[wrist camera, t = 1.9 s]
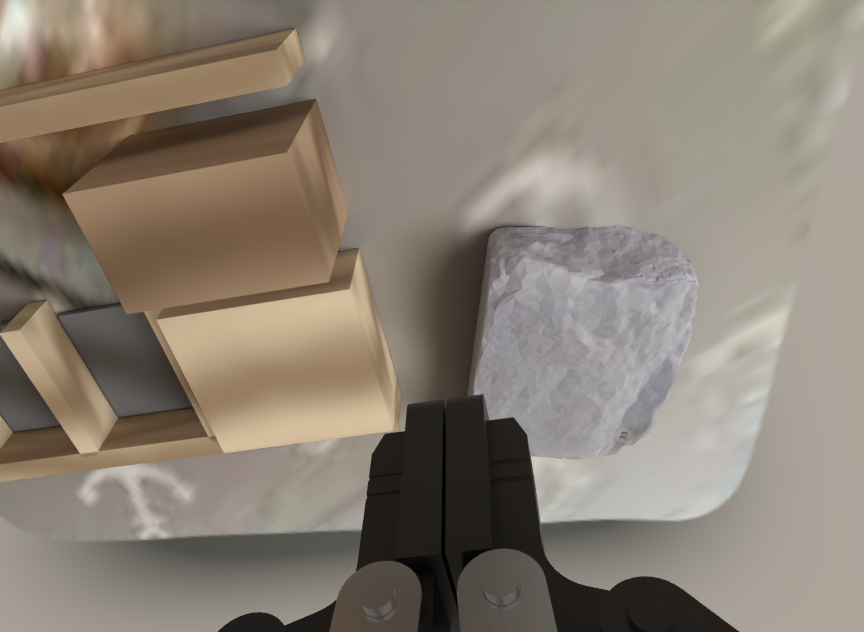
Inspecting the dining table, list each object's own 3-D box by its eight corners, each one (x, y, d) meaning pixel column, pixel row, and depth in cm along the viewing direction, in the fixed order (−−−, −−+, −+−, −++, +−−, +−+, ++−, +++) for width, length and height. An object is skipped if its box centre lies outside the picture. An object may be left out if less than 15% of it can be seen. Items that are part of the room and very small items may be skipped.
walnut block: (131, 134, 28) (62, 194, 23) (316, 98, 27) (286, 152, 22) (179, 240, 31) (126, 314, 26) (349, 211, 30) (328, 282, 25)
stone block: (679, 208, 31) (469, 215, 30) (734, 263, 28) (497, 275, 26) (622, 397, 38) (449, 412, 37) (660, 462, 35) (469, 482, 33)
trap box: (-231, 138, 28) (-309, 170, 25) (295, 28, 25) (275, 49, 23) (4, 450, 38) (-32, 499, 35) (401, 396, 35) (397, 444, 33)
